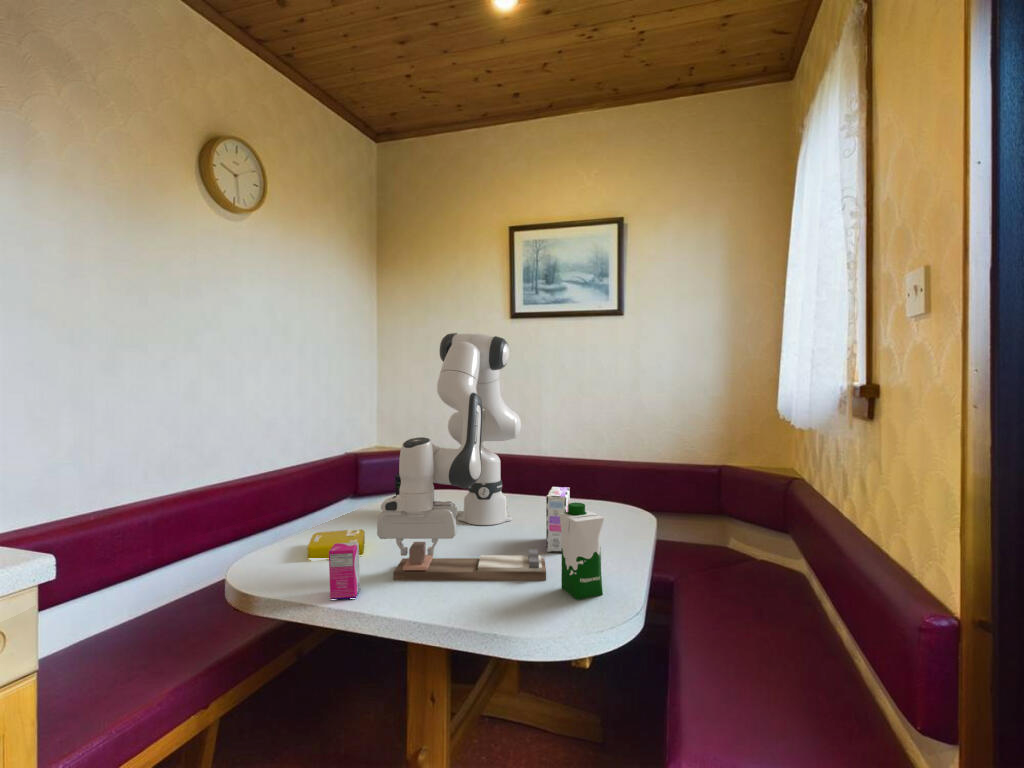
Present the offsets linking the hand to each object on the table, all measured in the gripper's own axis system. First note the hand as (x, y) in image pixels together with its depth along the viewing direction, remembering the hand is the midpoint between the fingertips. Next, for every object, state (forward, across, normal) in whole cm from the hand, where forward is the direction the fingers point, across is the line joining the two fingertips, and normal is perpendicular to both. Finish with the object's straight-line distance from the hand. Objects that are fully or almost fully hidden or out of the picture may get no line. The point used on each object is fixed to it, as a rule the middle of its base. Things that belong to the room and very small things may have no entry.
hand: (417, 554), depth 135 cm
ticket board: (+5, -14, 0) cm, 15 cm away
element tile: (+5, +27, -17) cm, 33 cm away
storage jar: (+5, +15, -58) cm, 60 cm away
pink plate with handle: (+2, 0, 0) cm, 2 cm away
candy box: (+5, -38, -22) cm, 44 cm away
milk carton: (+5, -41, +12) cm, 43 cm away
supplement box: (+5, +14, +14) cm, 20 cm away
